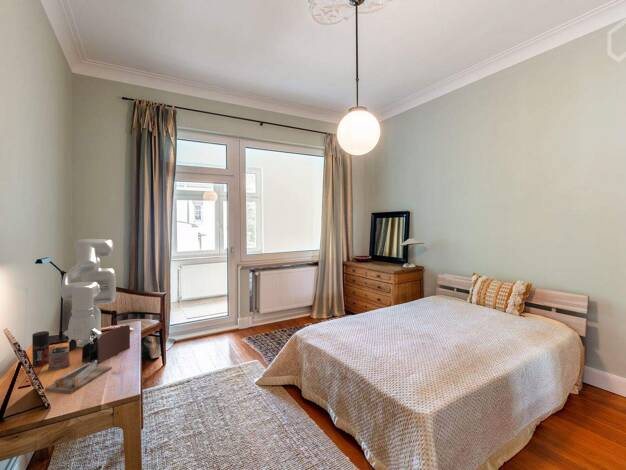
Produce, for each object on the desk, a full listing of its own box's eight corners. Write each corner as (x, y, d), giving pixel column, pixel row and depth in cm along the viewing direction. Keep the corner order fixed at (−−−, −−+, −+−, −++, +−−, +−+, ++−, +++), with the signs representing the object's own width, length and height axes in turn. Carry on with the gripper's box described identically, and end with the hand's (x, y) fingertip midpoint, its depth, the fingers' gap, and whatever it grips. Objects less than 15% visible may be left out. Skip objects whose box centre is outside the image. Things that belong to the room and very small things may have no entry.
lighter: (47, 370, 139) (47, 349, 139) (49, 367, 142) (49, 346, 142) (68, 367, 143) (68, 346, 142) (71, 364, 146) (71, 344, 145)
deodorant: (46, 360, 149) (46, 330, 149) (50, 363, 146) (50, 333, 145) (30, 364, 144) (30, 333, 144) (34, 368, 141) (34, 336, 140)
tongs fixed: (93, 366, 142) (93, 359, 142) (98, 366, 142) (98, 359, 142) (56, 387, 124) (56, 379, 124) (61, 387, 124) (61, 379, 124)
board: (88, 366, 144) (88, 364, 144) (111, 368, 143) (111, 366, 143) (45, 390, 123) (45, 388, 123) (71, 393, 122) (71, 390, 122)
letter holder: (130, 348, 166) (130, 323, 166) (98, 364, 147) (98, 335, 146) (114, 346, 168) (115, 321, 168) (81, 362, 149) (81, 333, 148)
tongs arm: (93, 368, 140) (93, 362, 140) (96, 368, 140) (96, 361, 140) (71, 387, 124) (71, 379, 124) (75, 386, 124) (75, 379, 124)
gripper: (57, 314, 131) (57, 353, 131) (93, 316, 129) (93, 355, 129) (72, 309, 138) (72, 346, 139) (107, 311, 137) (107, 348, 137)
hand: (82, 351), depth 134 cm, fingers open, 9 cm apart
